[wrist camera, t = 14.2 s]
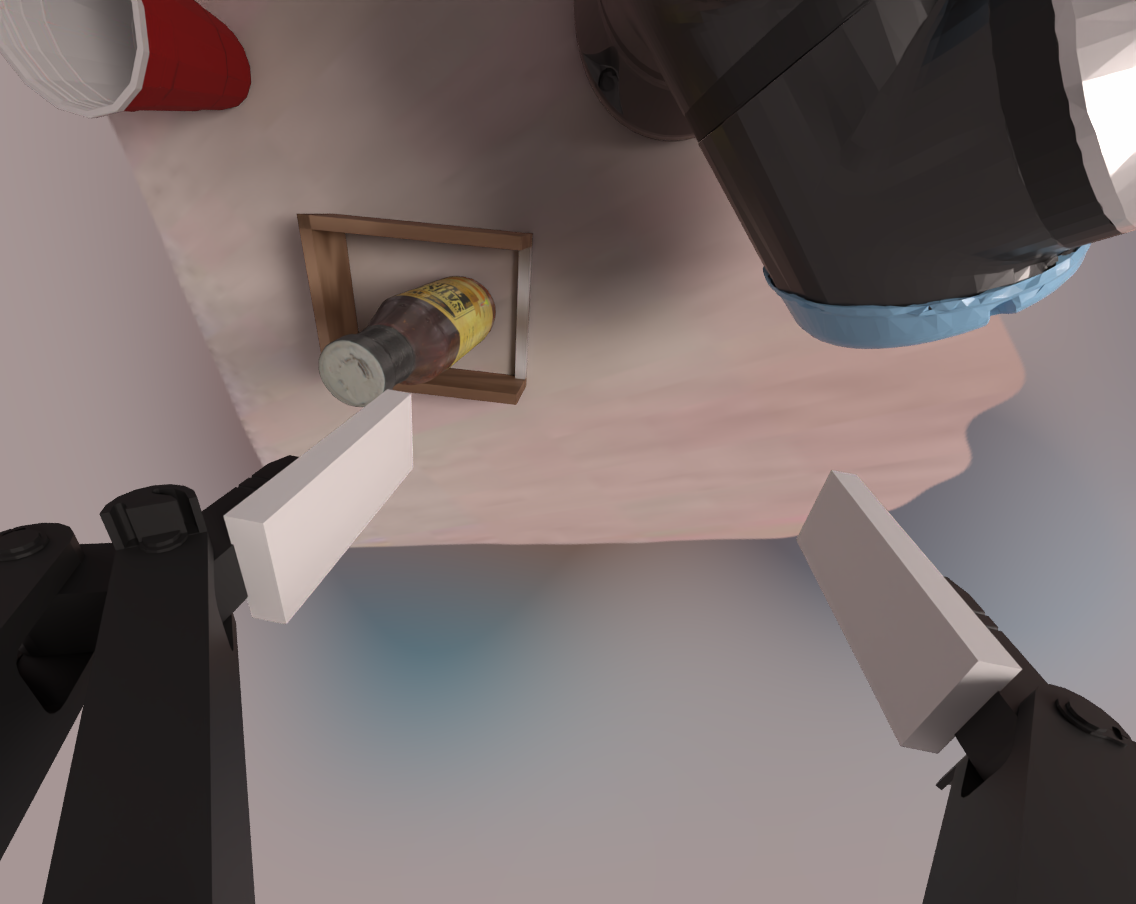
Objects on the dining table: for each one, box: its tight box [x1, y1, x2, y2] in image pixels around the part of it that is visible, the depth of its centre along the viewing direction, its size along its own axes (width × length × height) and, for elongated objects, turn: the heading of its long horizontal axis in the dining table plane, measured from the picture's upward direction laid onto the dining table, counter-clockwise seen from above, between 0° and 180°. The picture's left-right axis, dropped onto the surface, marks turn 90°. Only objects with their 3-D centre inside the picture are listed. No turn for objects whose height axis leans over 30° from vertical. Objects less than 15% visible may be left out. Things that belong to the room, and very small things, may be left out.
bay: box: [297, 214, 533, 405], centre depth 41 cm, size 14×18×5 cm
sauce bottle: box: [319, 277, 496, 407], centre depth 34 cm, size 6×6×20 cm
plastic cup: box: [0, 0, 251, 118], centre depth 31 cm, size 11×11×12 cm
